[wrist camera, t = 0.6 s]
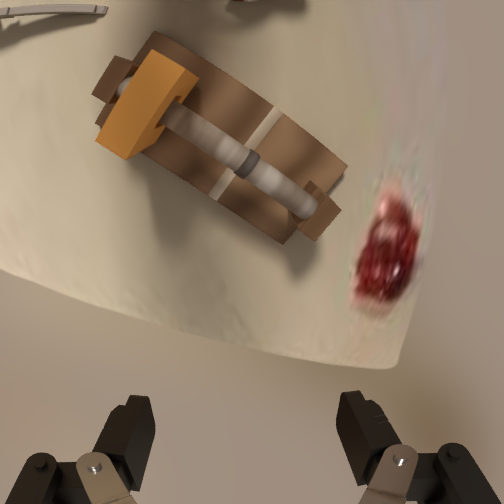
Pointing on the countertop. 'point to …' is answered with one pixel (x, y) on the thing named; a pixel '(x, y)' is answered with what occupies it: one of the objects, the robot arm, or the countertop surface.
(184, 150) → the pipe stand
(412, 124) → the countertop surface
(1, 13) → the caliper
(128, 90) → the collar
